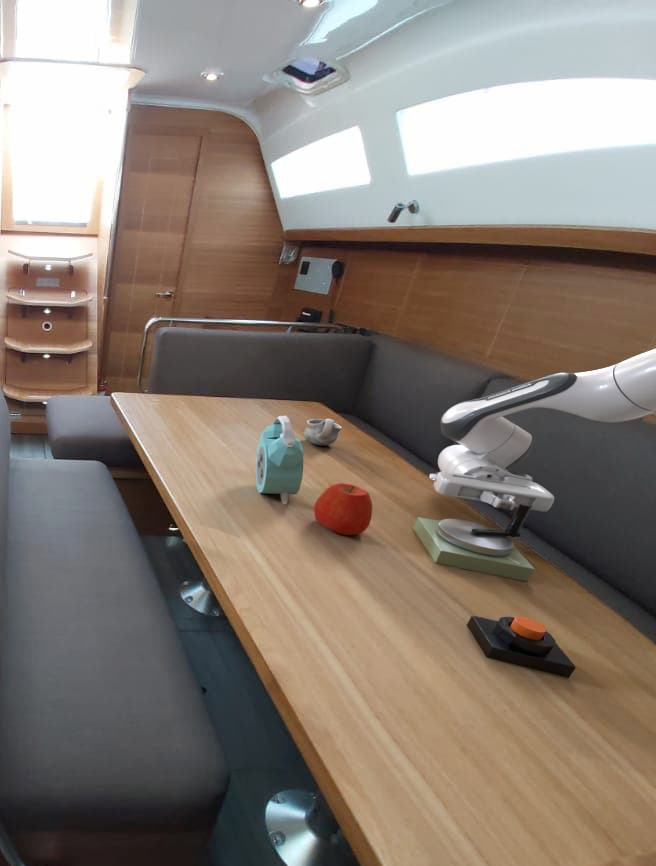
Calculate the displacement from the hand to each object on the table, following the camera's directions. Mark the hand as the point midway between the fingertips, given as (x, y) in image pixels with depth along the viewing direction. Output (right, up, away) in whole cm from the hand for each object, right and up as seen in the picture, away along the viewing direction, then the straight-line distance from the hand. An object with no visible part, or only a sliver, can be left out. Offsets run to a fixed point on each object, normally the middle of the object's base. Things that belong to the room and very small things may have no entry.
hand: (505, 505), depth 106 cm
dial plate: (-10, -10, -1) cm, 14 cm away
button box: (-25, -22, -27) cm, 43 cm away
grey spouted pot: (-7, +16, +54) cm, 57 cm away
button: (-25, -18, -29) cm, 42 cm away
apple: (-32, -5, +6) cm, 33 cm away
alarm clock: (-39, +2, +22) cm, 45 cm away
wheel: (-9, -7, -3) cm, 12 cm away
